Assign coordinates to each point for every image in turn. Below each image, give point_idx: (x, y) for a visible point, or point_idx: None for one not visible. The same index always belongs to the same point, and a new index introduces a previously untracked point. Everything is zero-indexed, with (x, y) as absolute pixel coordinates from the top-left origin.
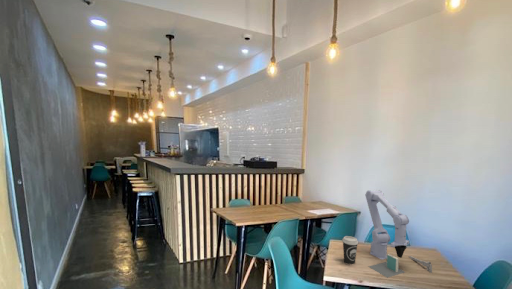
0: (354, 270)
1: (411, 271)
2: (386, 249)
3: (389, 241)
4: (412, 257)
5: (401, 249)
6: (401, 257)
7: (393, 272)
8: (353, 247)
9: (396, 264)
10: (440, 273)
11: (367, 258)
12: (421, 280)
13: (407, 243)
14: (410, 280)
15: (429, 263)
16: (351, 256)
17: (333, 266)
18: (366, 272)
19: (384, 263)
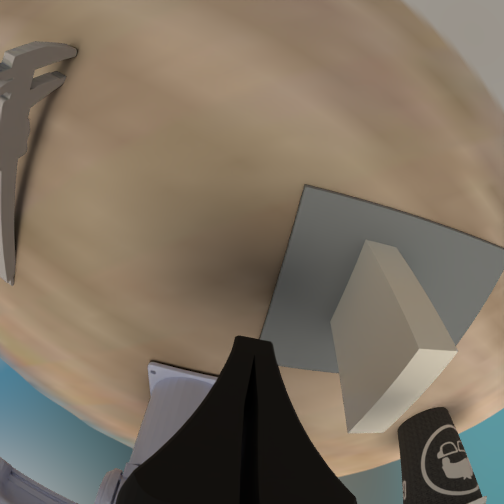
0: (494, 374)
1: (212, 158)
2: (166, 433)
3: (111, 480)
4: (5, 262)
5: (345, 490)
6: (246, 337)
7: (413, 258)
8: (474, 486)
9: (422, 295)
10: (24, 26)
11: (305, 418)
12: (333, 20)
13: (6, 473)
14: (431, 102)
15: (4, 68)
16: (461, 443)
17: (490, 410)
18: (492, 345)
19: (296, 357)
